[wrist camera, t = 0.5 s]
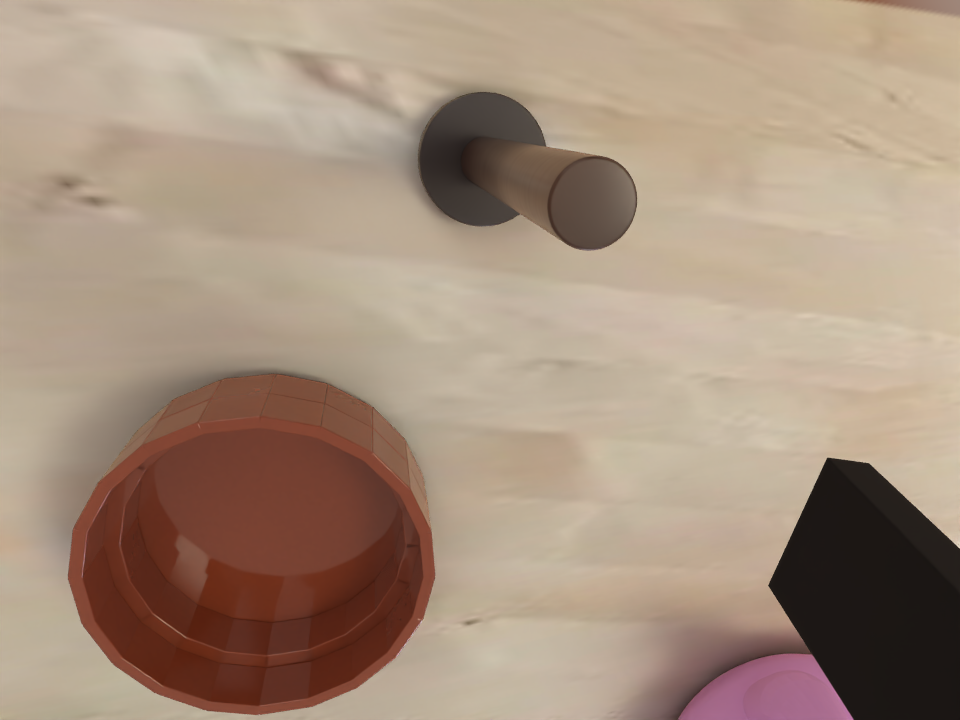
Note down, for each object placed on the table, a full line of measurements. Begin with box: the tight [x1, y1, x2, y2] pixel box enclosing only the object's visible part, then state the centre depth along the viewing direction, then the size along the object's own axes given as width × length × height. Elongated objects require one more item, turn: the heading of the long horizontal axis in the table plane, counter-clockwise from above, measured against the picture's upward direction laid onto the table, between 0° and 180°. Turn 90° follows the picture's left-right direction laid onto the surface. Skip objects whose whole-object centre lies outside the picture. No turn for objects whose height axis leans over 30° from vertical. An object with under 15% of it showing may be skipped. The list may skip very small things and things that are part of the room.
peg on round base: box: [418, 92, 637, 251], centre depth 25 cm, size 6×6×18 cm
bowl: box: [68, 374, 435, 715], centre depth 35 cm, size 16×16×6 cm
